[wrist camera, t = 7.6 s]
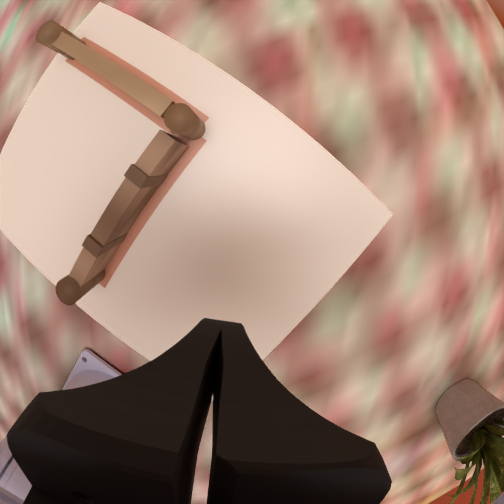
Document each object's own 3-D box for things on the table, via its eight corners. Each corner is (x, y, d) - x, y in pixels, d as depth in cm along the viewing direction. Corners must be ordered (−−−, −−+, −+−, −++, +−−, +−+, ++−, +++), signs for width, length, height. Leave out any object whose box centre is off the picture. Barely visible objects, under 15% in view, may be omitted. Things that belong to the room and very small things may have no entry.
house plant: (366, 458, 25) (407, 580, 9) (412, 354, 22) (517, 502, 6) (463, 434, 25) (517, 521, 10) (511, 341, 22) (602, 424, 6)
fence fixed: (194, 146, 17) (178, 138, 13) (64, 55, 15) (32, 38, 11) (211, 125, 17) (200, 111, 13) (77, 37, 15) (47, 17, 11)
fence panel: (172, 134, 17) (152, 124, 13) (192, 149, 17) (177, 143, 13) (82, 272, 19) (52, 293, 15) (99, 286, 19) (71, 310, 15)
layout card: (217, 400, 22) (217, 403, 22) (-17, 206, 18) (-20, 206, 18) (391, 213, 19) (393, 214, 18) (101, 3, 14) (99, 1, 14)
